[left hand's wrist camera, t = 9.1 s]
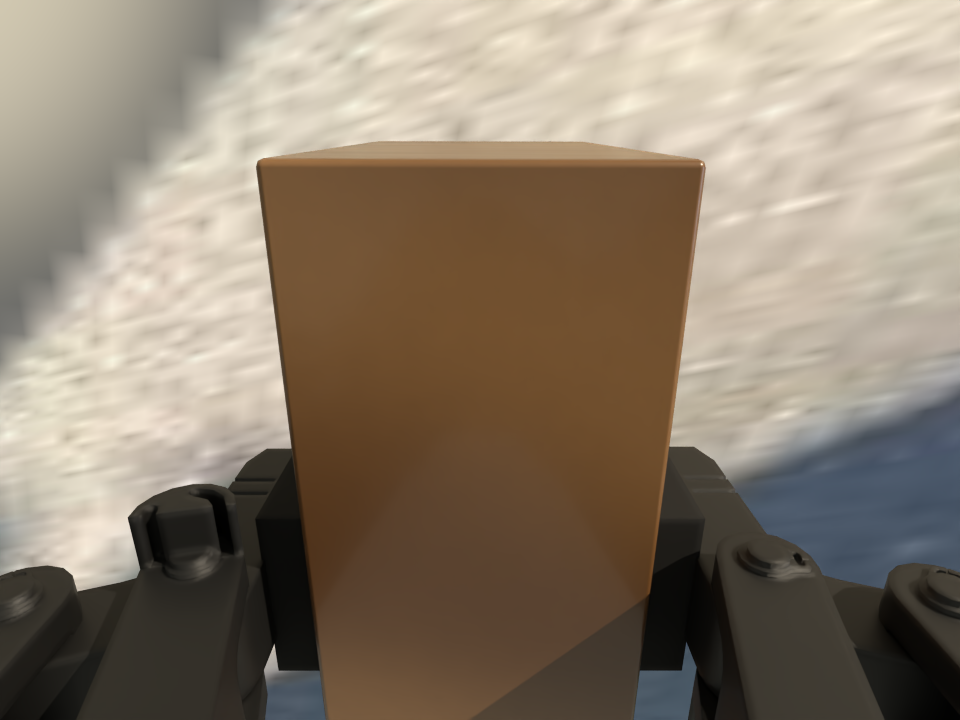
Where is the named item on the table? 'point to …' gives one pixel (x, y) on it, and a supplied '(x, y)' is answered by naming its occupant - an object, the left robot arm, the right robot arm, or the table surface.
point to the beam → (480, 414)
